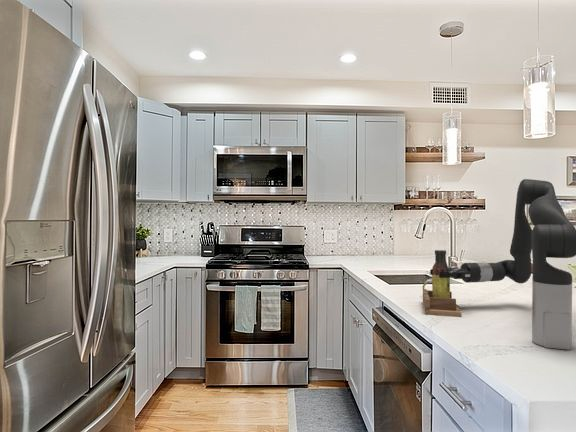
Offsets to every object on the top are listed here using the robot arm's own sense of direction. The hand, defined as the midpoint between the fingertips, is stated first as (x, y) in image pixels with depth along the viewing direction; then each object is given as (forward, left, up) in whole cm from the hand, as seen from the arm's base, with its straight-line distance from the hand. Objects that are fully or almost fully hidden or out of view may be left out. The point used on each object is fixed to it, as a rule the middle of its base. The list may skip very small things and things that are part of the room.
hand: (435, 273), depth 149 cm
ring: (+23, 0, -14) cm, 27 cm away
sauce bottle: (+1, -2, -11) cm, 11 cm away
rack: (+1, -2, -14) cm, 14 cm away
